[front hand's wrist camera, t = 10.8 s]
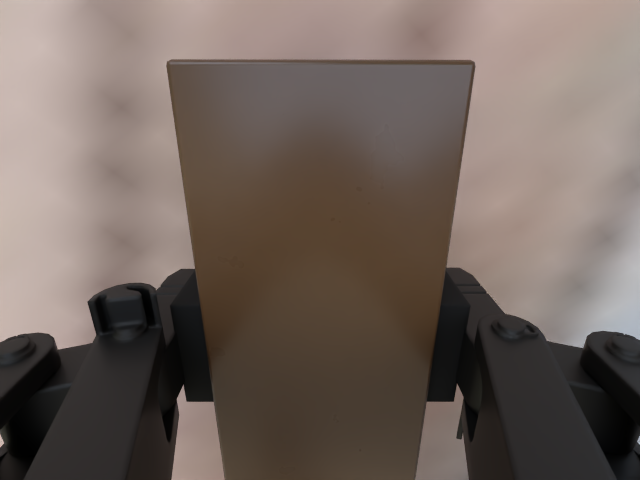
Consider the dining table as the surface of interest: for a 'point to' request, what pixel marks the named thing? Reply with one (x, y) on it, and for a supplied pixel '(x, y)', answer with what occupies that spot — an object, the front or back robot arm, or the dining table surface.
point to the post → (320, 253)
